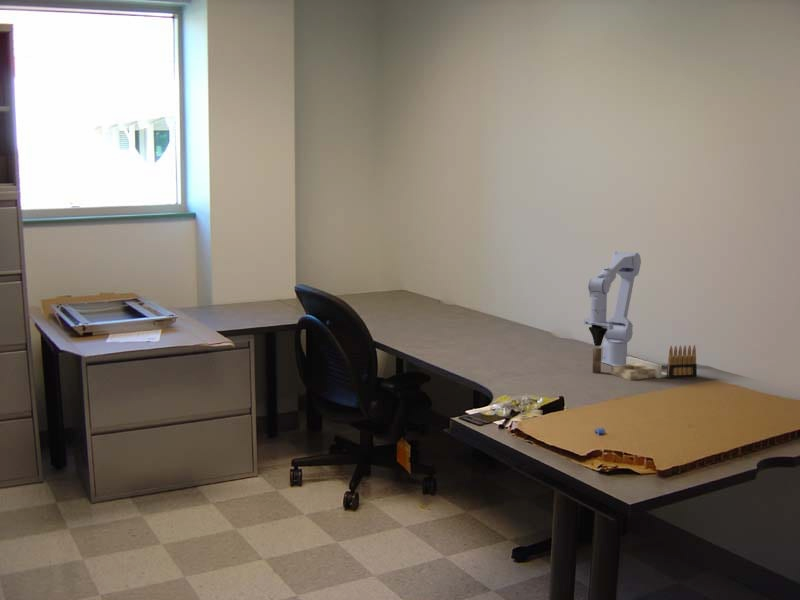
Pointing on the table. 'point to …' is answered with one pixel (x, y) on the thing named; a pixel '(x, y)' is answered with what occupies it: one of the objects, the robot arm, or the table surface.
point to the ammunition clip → (682, 363)
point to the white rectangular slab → (648, 364)
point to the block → (633, 371)
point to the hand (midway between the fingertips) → (597, 345)
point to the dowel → (596, 360)
